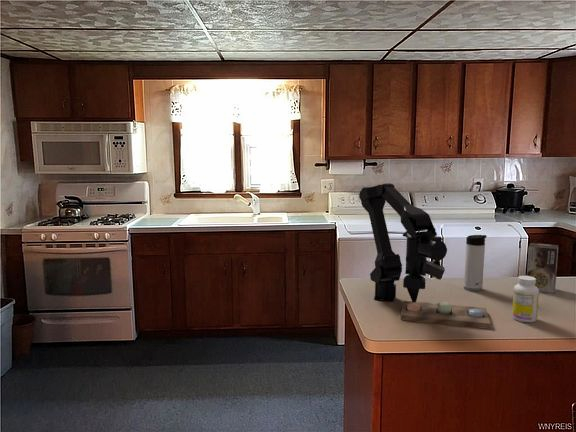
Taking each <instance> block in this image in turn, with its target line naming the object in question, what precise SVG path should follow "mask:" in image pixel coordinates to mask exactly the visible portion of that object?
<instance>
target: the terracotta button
mask: <svg viewBox="0 0 576 432" xmlns="http://www.w3.org/2000/svg"><path fill="white" fill-rule="evenodd" d="M420 307H421V306H420V305H419V304H414V303H411V304H408V305H407V310H406V311H416V312H421V311H420Z"/></svg>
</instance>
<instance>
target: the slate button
mask: <svg viewBox="0 0 576 432" xmlns="http://www.w3.org/2000/svg"><path fill="white" fill-rule="evenodd" d="M468 316H470V317H481V318H483V311H482V310H479V309H469V315H468Z"/></svg>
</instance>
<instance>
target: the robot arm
mask: <svg viewBox="0 0 576 432" xmlns="http://www.w3.org/2000/svg"><path fill="white" fill-rule="evenodd" d="M358 196H359V197H358V199H359V200H360V203H361V206H362V207H363V209H364V210H365V211H366V212H367V214H368V216H369V220H370V225H371V229H372V231H371V232H372V234H373V235H372V236H373V240H374V243H375V249H376V253H377V254H376V258H375V261H374V269H373V270H372V271H370V273H369V276H370V281H372V282H374V297H373V301H374V300H375V301H376V300H377V301H387V302H394V301H395V299H396V297H397V284H396V283H395V282H396V281H400V279H401V276H402V275H401V274H402V272H403V264H402V260H401V256H400V254H399V253H395V251H393V249H392V244H391V240H390V236H389V232H388V227H387V223H386V219H385V218H386V217H385V214H384V208H385V204H386V202H387V203H388V205H390V207H391V208H392V210H394V211H395V213H396V214H398V215H399V217H400V223H401V225H402V227H404V229H405V232H403V233H402V237H404V238H406V251H405V254H406V255H405V271H404V272H405V275H406V276H404V277H403V281H402V282H403V284H402V286H403V288H405V289H406V290H407V292H408V294H409V297H410V299H411V300H410V301H412V302H417V300H418V296H419V292H420V290H425V289H426V278H425V277H426V276H427V275H429V276H430V277H433V278H435V279H436V280H442V279H443V275H444V273H445V271H446V269H445V267H444V265H441V261H442V260H444V258H445V257H446V255H447V252H448V248H447V245H446V243H445V242H444V241H443V239H442V236H437V235H438V233H437V230H436V228H435V226H434V224H433V222H432V220H431V215H430V214H429V213H427V212H426V211H425V210H423V209H422V208H419V207H416V206H414V205H413V204H411V203H410V202H409V201H408V199H407V198H406V197H405V196H403V194H401V192H399V190H397V189H396V187H395V185H394V184H393V183H390V182H389V183H388V182H387V183H386V182H385V183H379V184H378V185H377V184H376V185H374V186H364V187H362V188H361V189H360V191H359V195H358ZM427 258H428V259H429V260H430V261H429V260H427ZM431 260H432V261H431Z"/></svg>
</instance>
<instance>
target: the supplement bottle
mask: <svg viewBox="0 0 576 432" xmlns="http://www.w3.org/2000/svg"><path fill="white" fill-rule="evenodd" d="M517 281H518V283H517V284H515V285H514V286H513V296H512V297H513V299H512V309H511V310H512V312H511V316H512V318H513V319H514V320H516V321H519V322H522V323H533V322H534V323H535V322H536V321H537V319H538V309H539V297H540V295H539V294H540V291H539V289H538V288H537V287H536V286H535V283H536V278H534V277H531V276H527V275H519V276H518V277H517Z"/></svg>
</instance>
